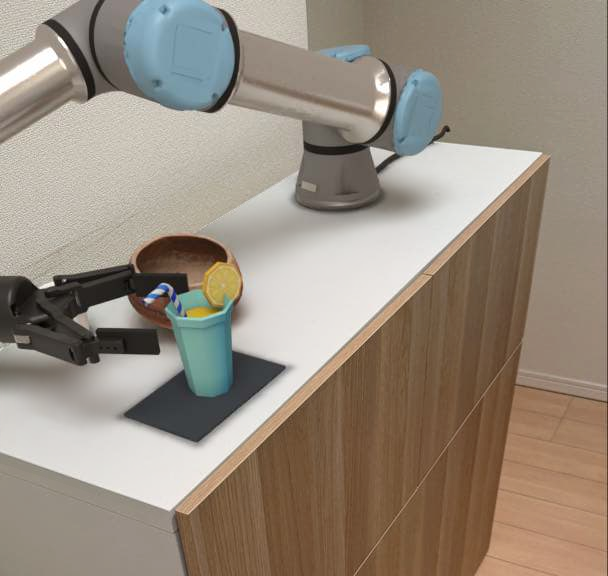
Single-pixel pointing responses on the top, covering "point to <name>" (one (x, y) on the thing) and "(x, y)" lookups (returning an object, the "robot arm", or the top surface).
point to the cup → (204, 328)
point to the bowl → (177, 267)
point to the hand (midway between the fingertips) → (173, 312)
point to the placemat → (203, 399)
